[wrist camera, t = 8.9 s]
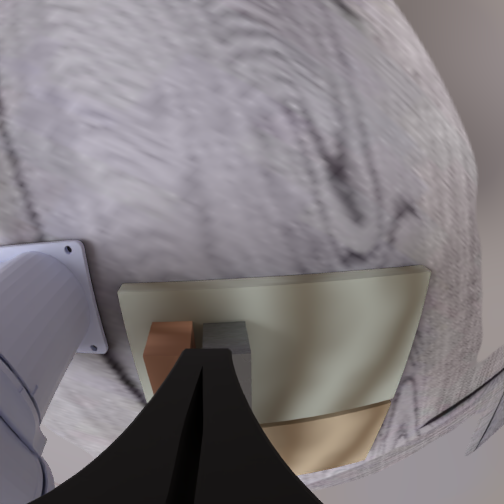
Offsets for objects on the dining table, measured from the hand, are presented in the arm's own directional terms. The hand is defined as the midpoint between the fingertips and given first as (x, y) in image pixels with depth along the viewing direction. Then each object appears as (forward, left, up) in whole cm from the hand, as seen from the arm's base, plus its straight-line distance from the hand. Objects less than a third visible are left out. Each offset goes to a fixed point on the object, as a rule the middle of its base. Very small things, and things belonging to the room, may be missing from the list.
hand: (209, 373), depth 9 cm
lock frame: (+4, -13, -9) cm, 17 cm away
